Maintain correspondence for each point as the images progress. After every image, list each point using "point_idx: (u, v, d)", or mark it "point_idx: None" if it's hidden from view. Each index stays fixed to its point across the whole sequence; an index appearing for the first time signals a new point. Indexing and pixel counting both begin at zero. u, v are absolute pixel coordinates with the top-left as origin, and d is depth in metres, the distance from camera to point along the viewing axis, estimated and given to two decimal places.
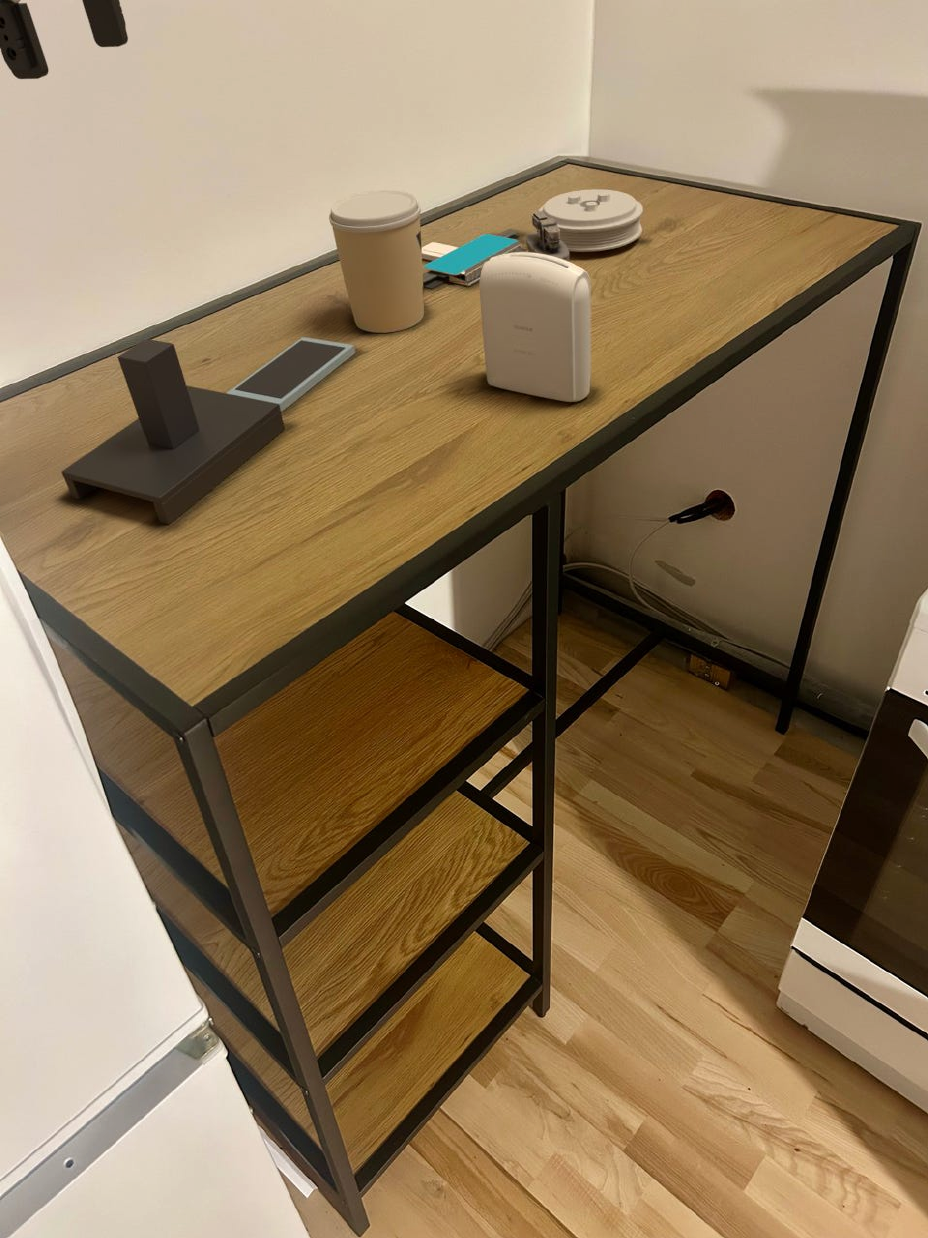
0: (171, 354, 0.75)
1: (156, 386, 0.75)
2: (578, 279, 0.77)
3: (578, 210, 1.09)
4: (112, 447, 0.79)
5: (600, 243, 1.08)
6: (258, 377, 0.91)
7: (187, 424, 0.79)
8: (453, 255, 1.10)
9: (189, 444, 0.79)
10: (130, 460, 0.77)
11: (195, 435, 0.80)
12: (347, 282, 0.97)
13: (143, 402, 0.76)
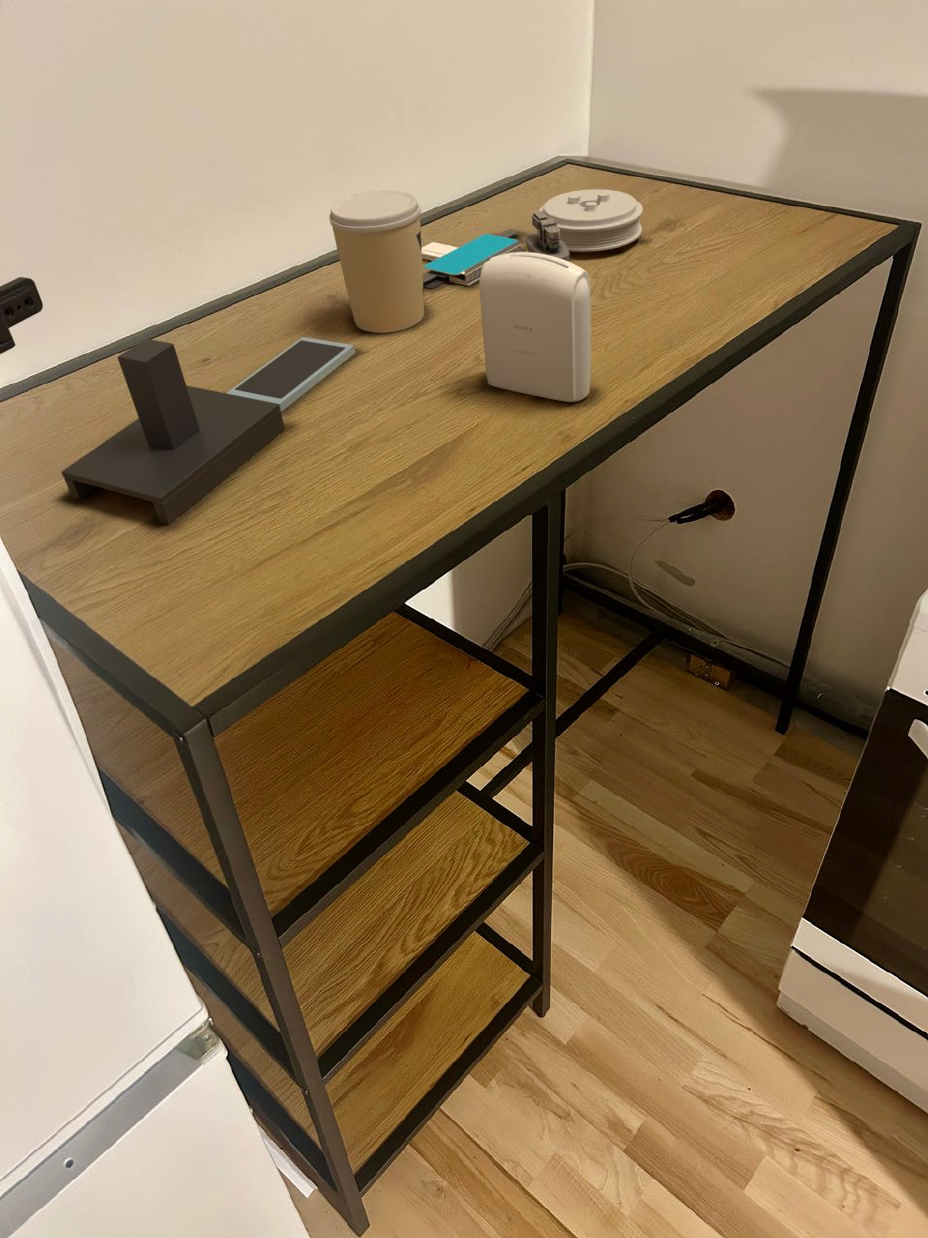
0: (171, 354, 0.75)
1: (156, 386, 0.75)
2: (578, 279, 0.77)
3: (578, 210, 1.09)
4: (112, 447, 0.79)
5: (600, 243, 1.08)
6: (258, 377, 0.91)
7: (187, 424, 0.79)
8: (453, 255, 1.10)
9: (189, 444, 0.79)
10: (130, 460, 0.77)
11: (195, 435, 0.80)
12: (347, 282, 0.97)
13: (143, 402, 0.76)
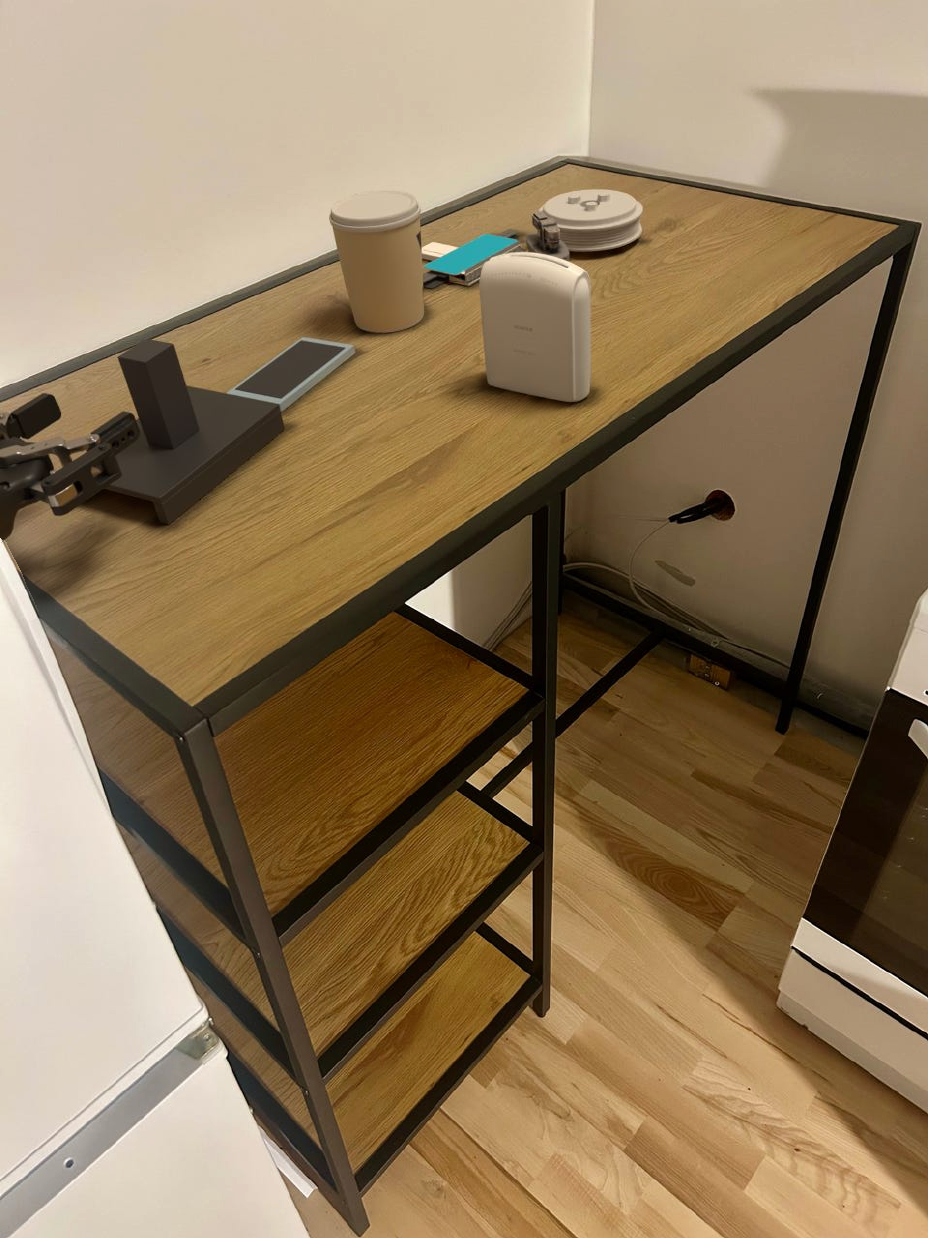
0: (171, 354, 0.75)
1: (156, 386, 0.75)
2: (578, 279, 0.77)
3: (578, 210, 1.09)
4: None
5: (600, 243, 1.08)
6: (258, 377, 0.91)
7: (187, 424, 0.79)
8: (453, 255, 1.10)
9: (189, 444, 0.79)
10: (130, 460, 0.77)
11: (195, 435, 0.80)
12: (347, 282, 0.97)
13: (143, 402, 0.76)
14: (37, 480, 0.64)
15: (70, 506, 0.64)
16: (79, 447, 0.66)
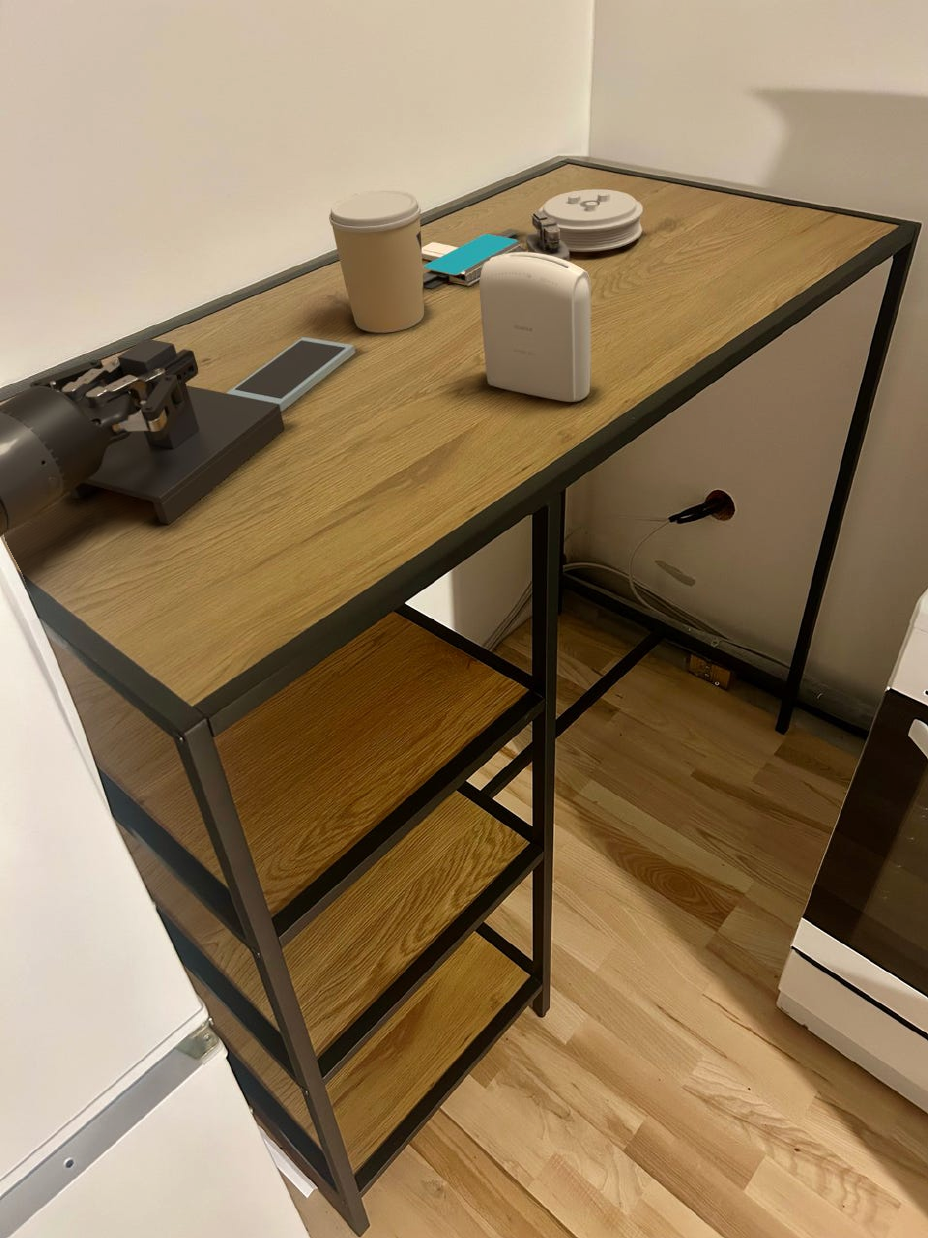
0: (171, 354, 0.75)
1: None
2: (578, 279, 0.77)
3: (578, 210, 1.09)
4: (112, 447, 0.79)
5: (600, 243, 1.08)
6: (258, 377, 0.91)
7: (187, 424, 0.79)
8: (453, 255, 1.10)
9: (189, 444, 0.79)
10: (130, 460, 0.77)
11: (195, 435, 0.80)
12: (347, 282, 0.97)
13: None
14: (125, 418, 0.69)
15: (166, 429, 0.70)
16: (152, 379, 0.73)
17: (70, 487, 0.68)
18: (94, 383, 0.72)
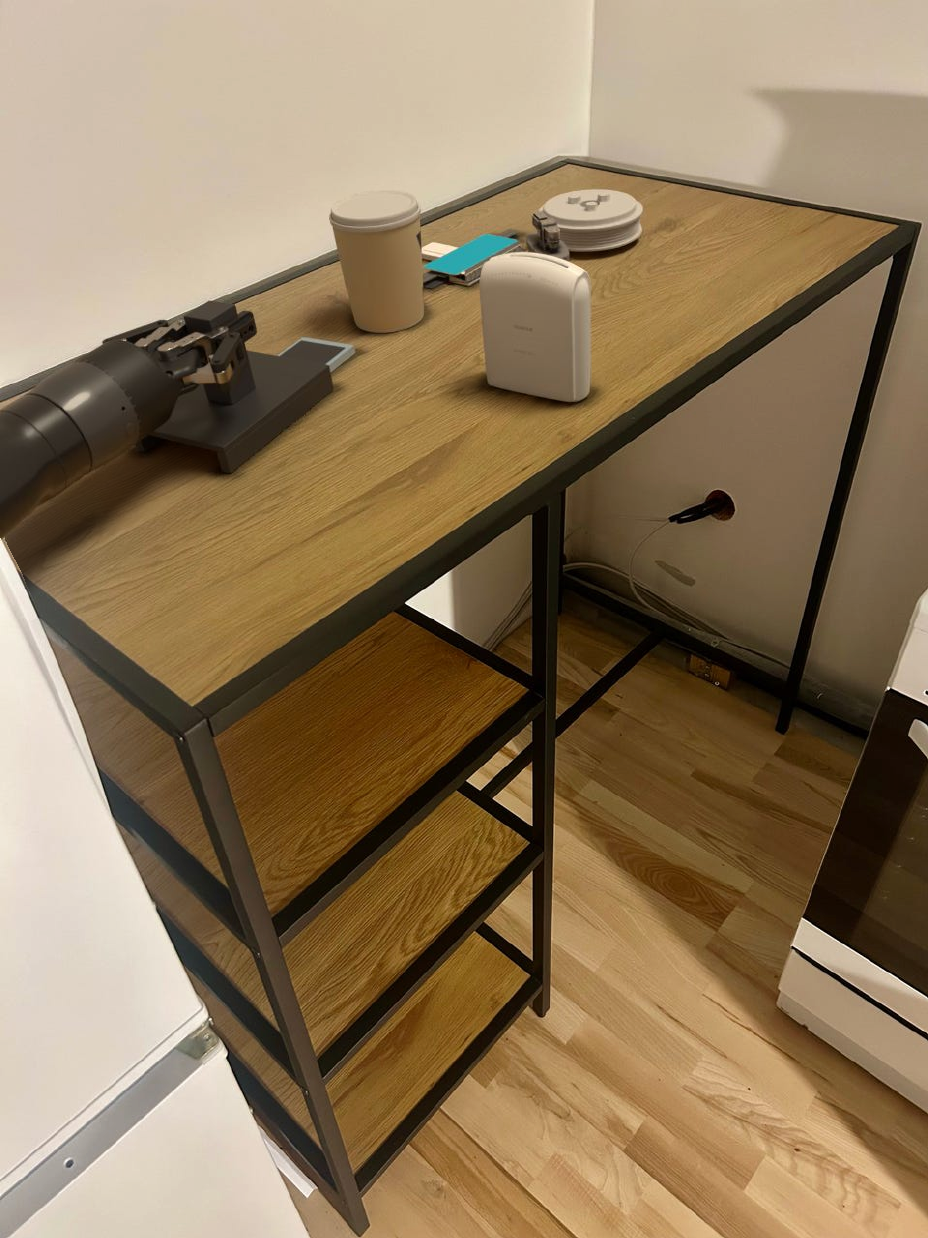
0: (233, 314, 0.80)
1: None
2: (578, 279, 0.77)
3: (578, 210, 1.09)
4: None
5: (600, 243, 1.08)
6: None
7: (245, 382, 0.84)
8: (453, 255, 1.10)
9: (247, 400, 0.84)
10: (192, 414, 0.83)
11: (252, 392, 0.85)
12: (347, 282, 0.97)
13: None
14: (194, 371, 0.74)
15: (232, 382, 0.75)
16: (217, 336, 0.78)
17: (144, 434, 0.73)
18: (163, 340, 0.77)
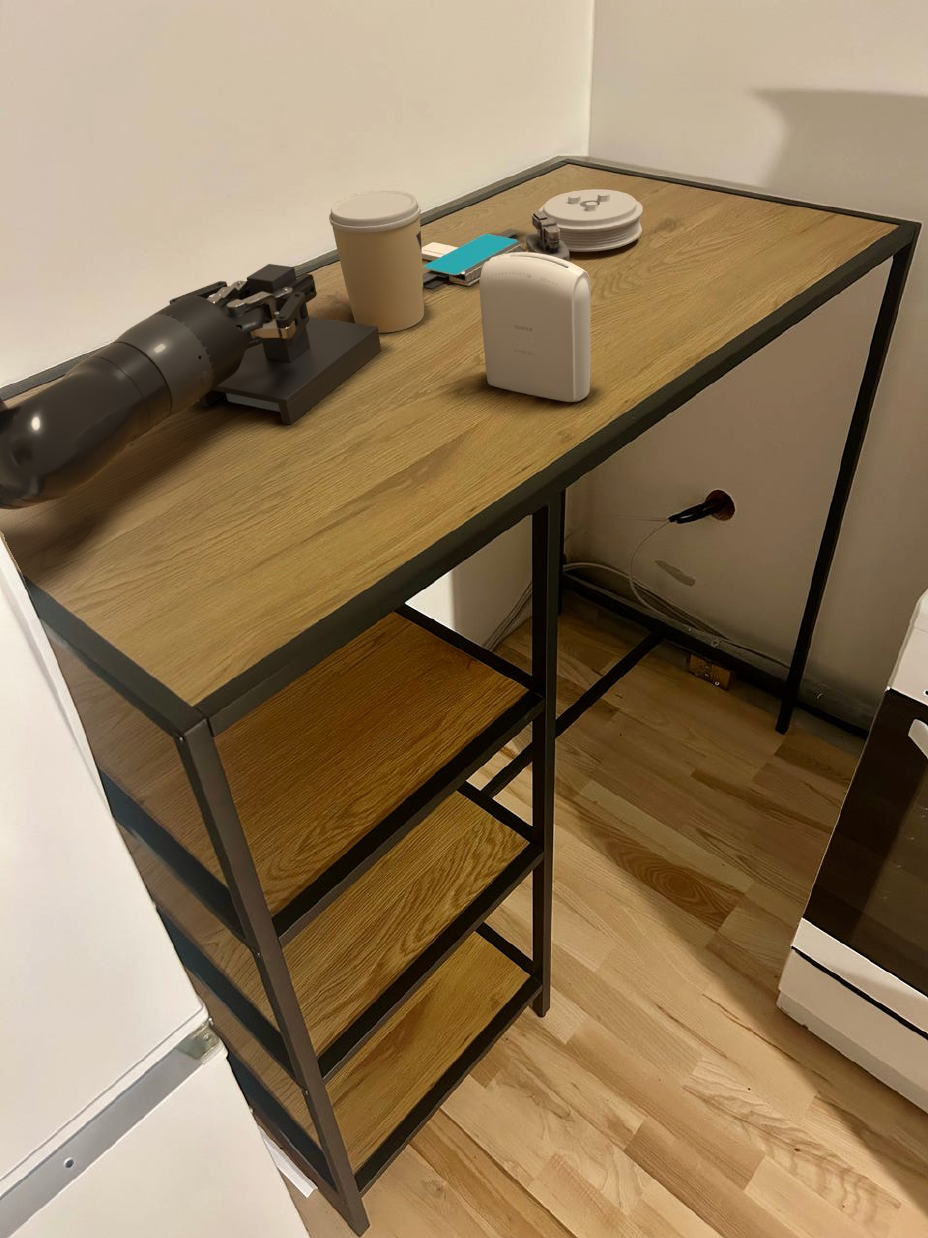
0: (292, 276, 0.86)
1: (279, 303, 0.85)
2: (578, 279, 0.77)
3: (578, 210, 1.09)
4: None
5: (600, 243, 1.08)
6: None
7: (301, 341, 0.90)
8: (453, 255, 1.10)
9: (303, 358, 0.89)
10: (253, 371, 0.88)
11: (307, 351, 0.90)
12: (347, 282, 0.97)
13: None
14: (261, 325, 0.80)
15: (294, 338, 0.81)
16: (282, 296, 0.83)
17: (216, 383, 0.79)
18: (228, 298, 0.83)
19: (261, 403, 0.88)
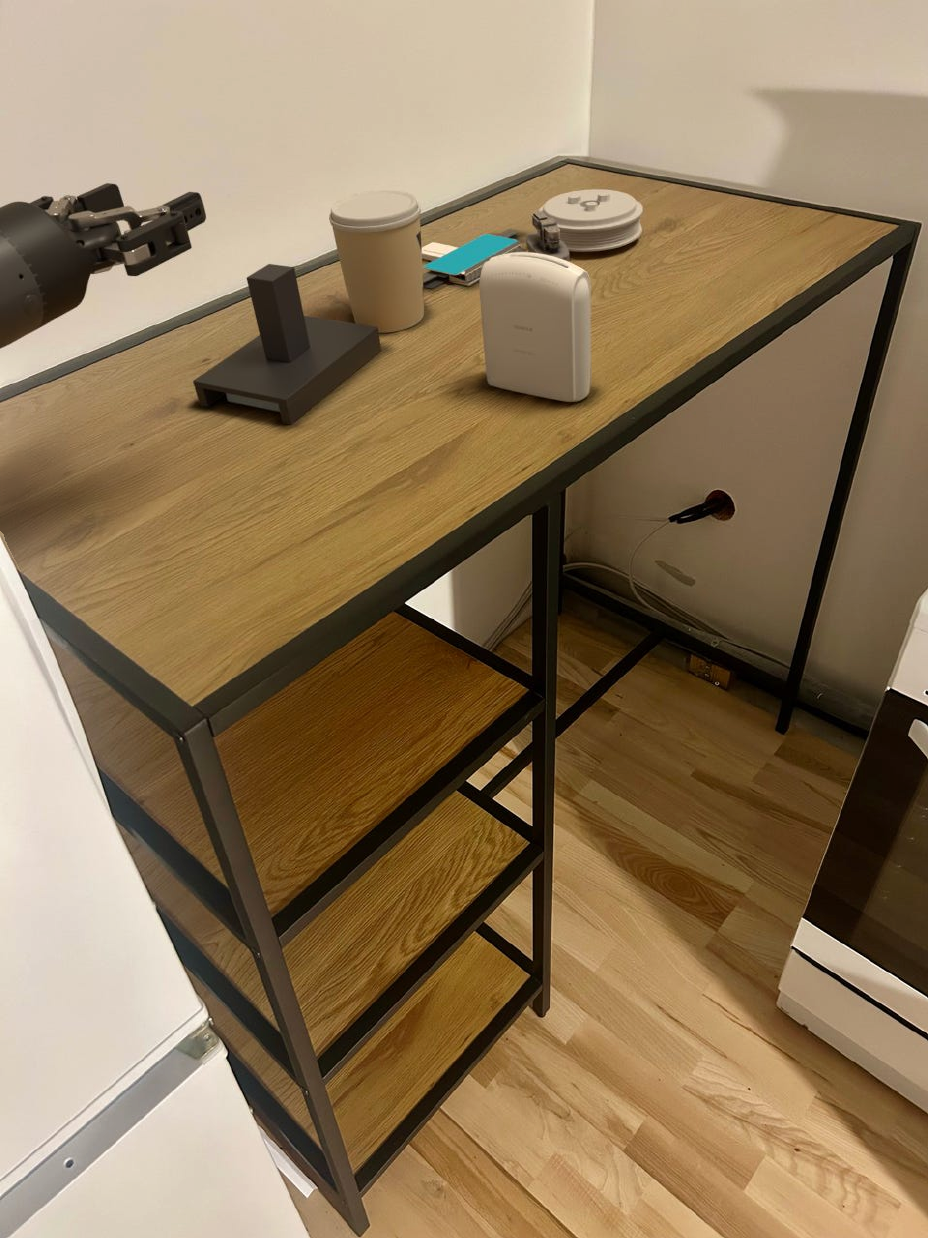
0: (292, 276, 0.86)
1: (279, 303, 0.85)
2: (578, 279, 0.77)
3: (578, 210, 1.09)
4: (234, 362, 0.90)
5: (600, 243, 1.08)
6: None
7: (301, 341, 0.90)
8: (453, 255, 1.10)
9: (303, 358, 0.89)
10: (253, 371, 0.88)
11: (307, 351, 0.90)
12: (347, 282, 0.97)
13: (266, 319, 0.87)
14: (111, 242, 0.64)
15: (144, 266, 0.64)
16: (150, 216, 0.66)
17: (51, 313, 0.63)
18: (67, 211, 0.67)
19: (261, 403, 0.88)
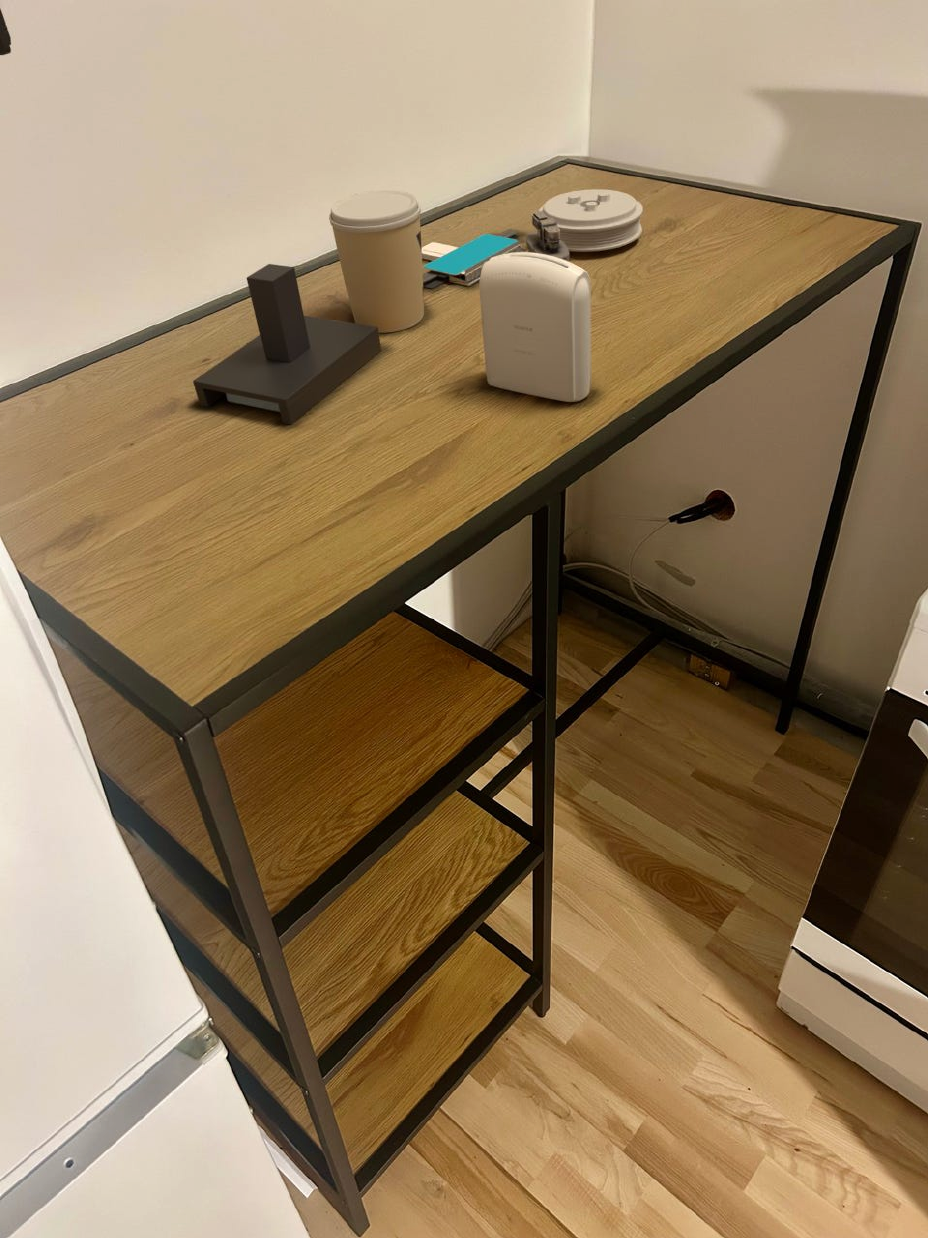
0: (292, 276, 0.86)
1: (279, 303, 0.85)
2: (578, 279, 0.77)
3: (578, 210, 1.09)
4: (234, 362, 0.90)
5: (600, 243, 1.08)
6: None
7: (301, 341, 0.90)
8: (453, 255, 1.10)
9: (303, 358, 0.89)
10: (253, 371, 0.88)
11: (307, 351, 0.90)
12: (347, 282, 0.97)
13: (266, 319, 0.87)
14: None
15: None
16: None
17: None
18: None
19: (261, 403, 0.88)
